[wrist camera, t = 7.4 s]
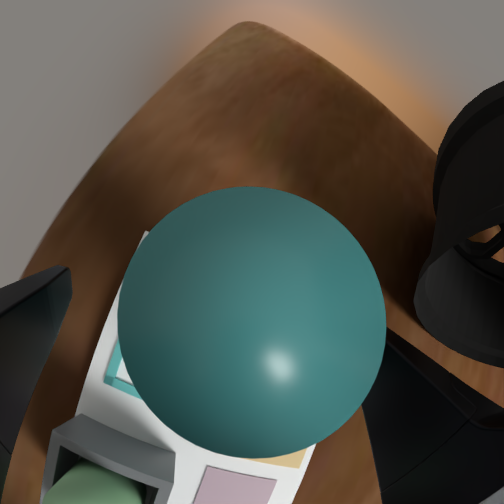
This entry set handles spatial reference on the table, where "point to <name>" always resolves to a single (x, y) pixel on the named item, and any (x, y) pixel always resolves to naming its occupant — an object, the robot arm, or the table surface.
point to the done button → (95, 487)
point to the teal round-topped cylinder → (251, 322)
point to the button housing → (108, 456)
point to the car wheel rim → (468, 235)
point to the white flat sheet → (187, 454)
